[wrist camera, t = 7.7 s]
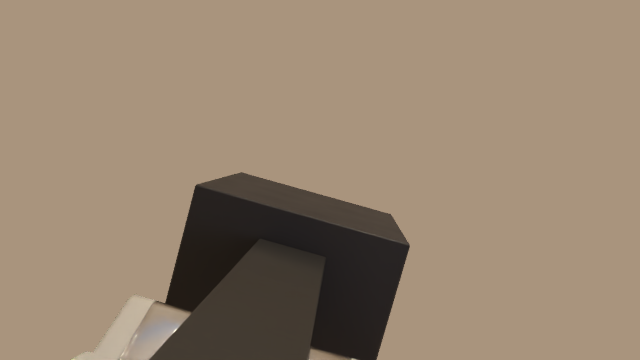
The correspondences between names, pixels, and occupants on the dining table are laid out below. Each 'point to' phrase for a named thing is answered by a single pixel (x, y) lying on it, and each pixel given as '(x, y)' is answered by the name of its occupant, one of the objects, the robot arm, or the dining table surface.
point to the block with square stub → (281, 274)
